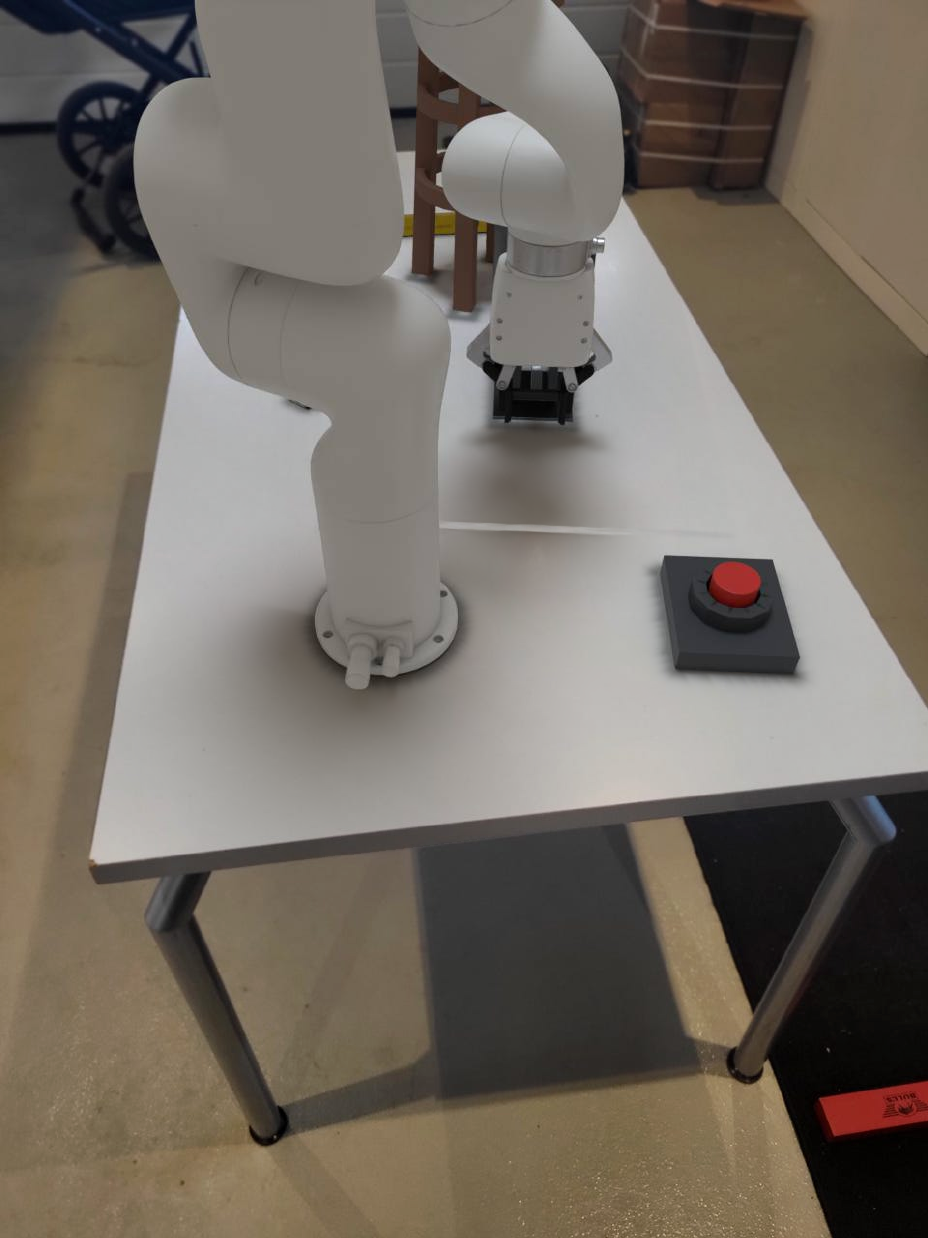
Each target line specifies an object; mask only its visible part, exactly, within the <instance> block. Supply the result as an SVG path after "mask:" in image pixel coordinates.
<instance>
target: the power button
mask: <svg viewBox="0 0 928 1238" xmlns="http://www.w3.org/2000/svg"><path fill="white" fill-rule="evenodd" d="M760 584H761V580H760V576H759V575H758V573H757V572H756V571H755V570H754V569H753V568H751V567H749V566H748V565H745V564H742V563H738V562H726V563H722V564H720V565H719V566H717V567H716V568H715V570H714V572H713V575H712V578H711V582H710V585H709V591H710V594H711V596H712V597H713V598H714V599H715V600H716V601H717V602H719V603H721V604H724V605H726V606H728V607H733V608H743V607H747V606H749V605H751V604H752V603H753V602H754V601H755V599H756V596H757V593H758V590H759V587H760Z"/></svg>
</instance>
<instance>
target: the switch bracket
mask: <svg viewBox="0 0 928 1238" xmlns="http://www.w3.org/2000/svg"><path fill="white" fill-rule="evenodd" d="M562 377H563V371H559V367H546V370H542V389H559V387H560V380H562ZM511 378H513V388H531V370H529V369H528V370H525V369H524V370H523V366H516V367H515V370H514V372H513V375H512V377H511ZM492 399H493V400H492V403H493V404H492V420H504V417H505V411H498V405H499V389H498V388H497V385H496V383H495V382H494V381H493V398H492ZM557 408H558V401H540V400H513V399H512V413H511V421H537V422H539V421H540V422H541V421H542V422H558V412H557ZM566 422H569V423H573V422H574V412H573V409H572V414H566V418H565V423H566Z"/></svg>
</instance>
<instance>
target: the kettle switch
mask: <svg viewBox="0 0 928 1238" xmlns="http://www.w3.org/2000/svg"><path fill="white" fill-rule="evenodd" d="M530 369H531V370H530V371H531V388H513V395H512V399H513V400H540V401H560V389H542V371H543V367H541V366H530Z"/></svg>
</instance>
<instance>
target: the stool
mask: <svg viewBox="0 0 928 1238" xmlns="http://www.w3.org/2000/svg"><path fill="white" fill-rule="evenodd" d="M551 1H552V2H553V3H554V4H555V5H556V6H557V7H558V8H559V9H560V8H561V7H563V6H565V1H566V0H551ZM416 85H417V86H416V114H415V115H416V117H415V119H416V120H415V146H414V147H415V148H414V149H415V152H414V154H415V155H414V180H413V181H414V182H413V183H414V184H413V213H412V214H413V235H412V243H411V245H412V248H411V274H414V275H415V274H416V275H421V276H422V275H423V276H429V275H430V274H431V272H432V271H433V270H434V269H435V243H436V241H435V239H436V238H435V237H436V234H435V213H436V208H439V209H442V210H444V211H449V212H455V233H454V249H453V250H454V252H453V253H454V256H453V289H452V291H453V292H452V310H453V311H457V312H464V313H472V312H473V310H474V308H475V306H476V305H477V282H478V281H477V279H478V277H477V275H478V241H479V240H478V239H479V238H478V237H479V232H478V220H476V219H472V218H470V217H467V216H465V215H463V214H461V213H460V212H458V211H457V210H456V209H454V208H453V206H452V205H451V204H450V203H449V201H448V200H447V198H446V196H445V194H444V191H443V187H442V186H440V185H437V174H440V173H442V164H443V159H444V156H445V153H446V151H445V150H444V151H441V152H438V135H439V134H438V133H439V128H438V127H439V122H442V123H444V124H451V125H456V126H457V133H458V132H459V131H460V130H461V129H462V128H463V127H464V126H466V125H467V124H469V123H470V122H472V121H474V120H476V119H479V118H481V117H485V116H489V115H494V114H498V113H503V112H507V110H505V109H503V108H501V107H500V106H498V105H496V104H494V103H492V102H491V101H488V102H489V106H487V105H482V96H480V95H478V94H476V93H475V92H473V91H471V90H470V89H468V88H467V87H465V86H464V85H462V84H461V83H459V82H458V81H456V80H455V79H453V78H452V77H451V76H449V75H448V74H446V73H445V72H444V71H440V69H439V68H438V67H437V66H436V65H435V64H433V63H432V62H431V61H430V60H429V59H428V58H427V56H426V55H425V54H424V53H423V52H422V50H421V49H420V47H419V46H418V52H417V83H416ZM455 89H458V99H457V100H458V102H457V103H455V102H450V101H447V100H443V99H441V98H440V93H443V92H446V91H449V90H455ZM485 233H486V234H485V262H492V263H493V251H494V224H492V223H488V222H487V229H486V232H485Z"/></svg>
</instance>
